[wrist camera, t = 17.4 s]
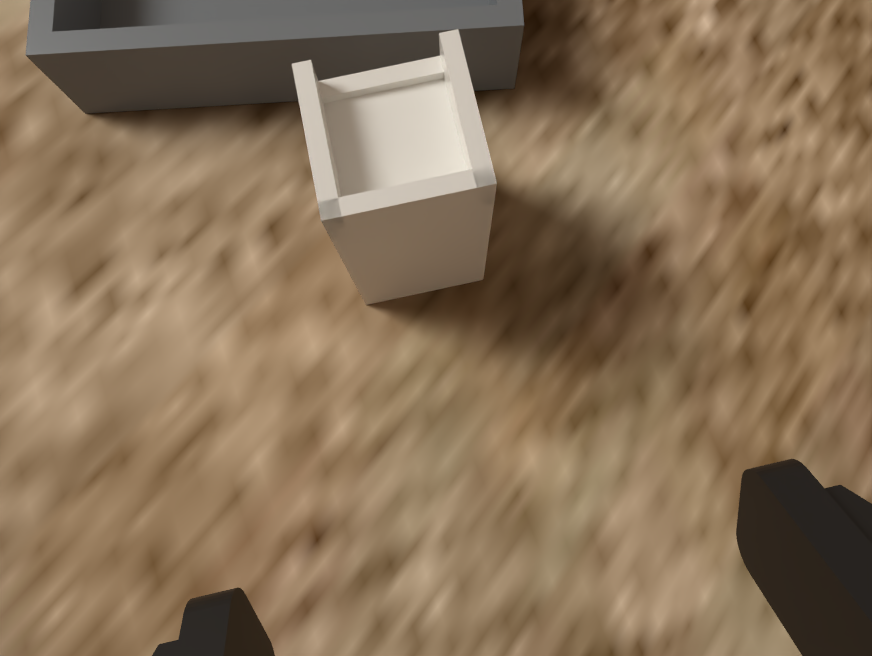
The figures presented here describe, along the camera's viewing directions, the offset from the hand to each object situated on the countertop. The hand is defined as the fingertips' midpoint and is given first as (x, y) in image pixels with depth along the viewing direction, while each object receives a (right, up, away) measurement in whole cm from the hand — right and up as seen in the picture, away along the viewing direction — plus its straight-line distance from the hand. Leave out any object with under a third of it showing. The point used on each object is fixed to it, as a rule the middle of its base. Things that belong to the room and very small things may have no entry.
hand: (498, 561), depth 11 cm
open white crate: (-2, +8, +19) cm, 21 cm away
